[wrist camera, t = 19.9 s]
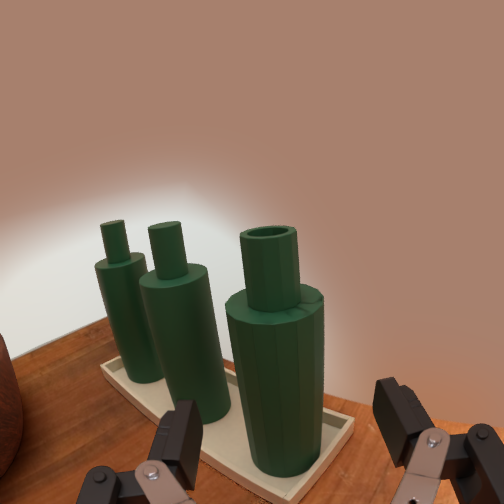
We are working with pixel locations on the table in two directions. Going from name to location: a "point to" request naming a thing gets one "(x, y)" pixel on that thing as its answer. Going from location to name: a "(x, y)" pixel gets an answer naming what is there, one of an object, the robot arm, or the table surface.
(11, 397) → the wooden bowl
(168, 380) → the row bottle
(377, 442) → the table surface
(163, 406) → the tray
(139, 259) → the row bottle
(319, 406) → the bottle
